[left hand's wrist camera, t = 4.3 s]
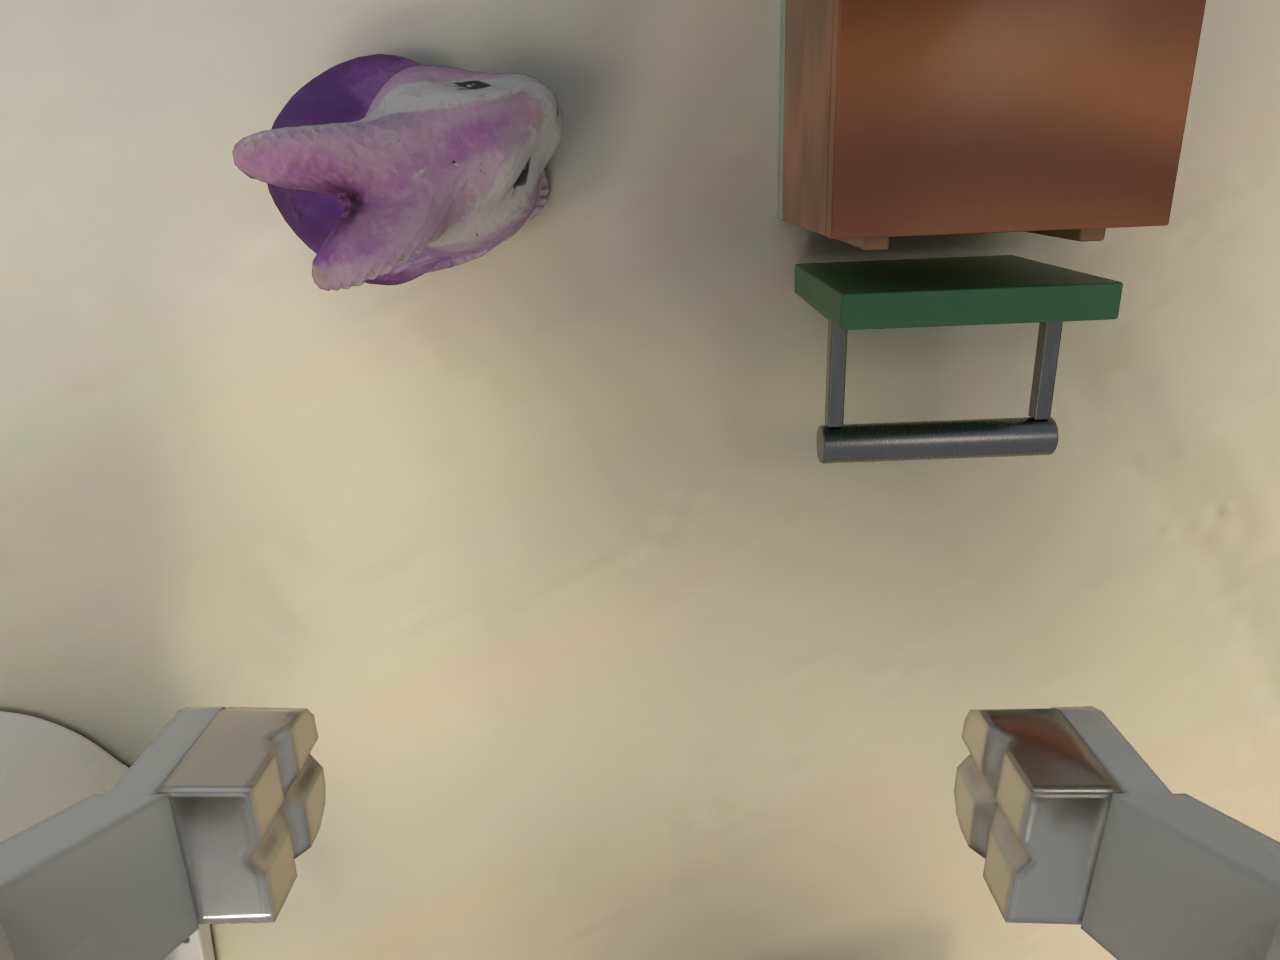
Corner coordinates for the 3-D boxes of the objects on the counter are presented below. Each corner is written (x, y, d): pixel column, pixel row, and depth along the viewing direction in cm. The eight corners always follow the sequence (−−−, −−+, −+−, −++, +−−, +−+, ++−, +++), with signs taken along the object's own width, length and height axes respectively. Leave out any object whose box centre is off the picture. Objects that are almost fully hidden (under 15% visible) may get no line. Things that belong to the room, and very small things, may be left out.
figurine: (605, 136, 35) (583, 118, 21) (463, 331, 38) (358, 430, 24) (412, -29, 33) (242, -175, 19) (276, 189, 36) (39, 206, 21)
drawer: (995, 413, 38) (1093, 483, 30) (791, 421, 38) (833, 492, 30) (1046, -63, 32) (1189, -142, 24) (802, -51, 32) (858, -126, 24)
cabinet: (1022, 208, 36) (1169, 225, 26) (777, 218, 36) (830, 239, 26) (1066, -188, 31) (1266, -352, 21) (783, -174, 31) (851, -331, 21)
